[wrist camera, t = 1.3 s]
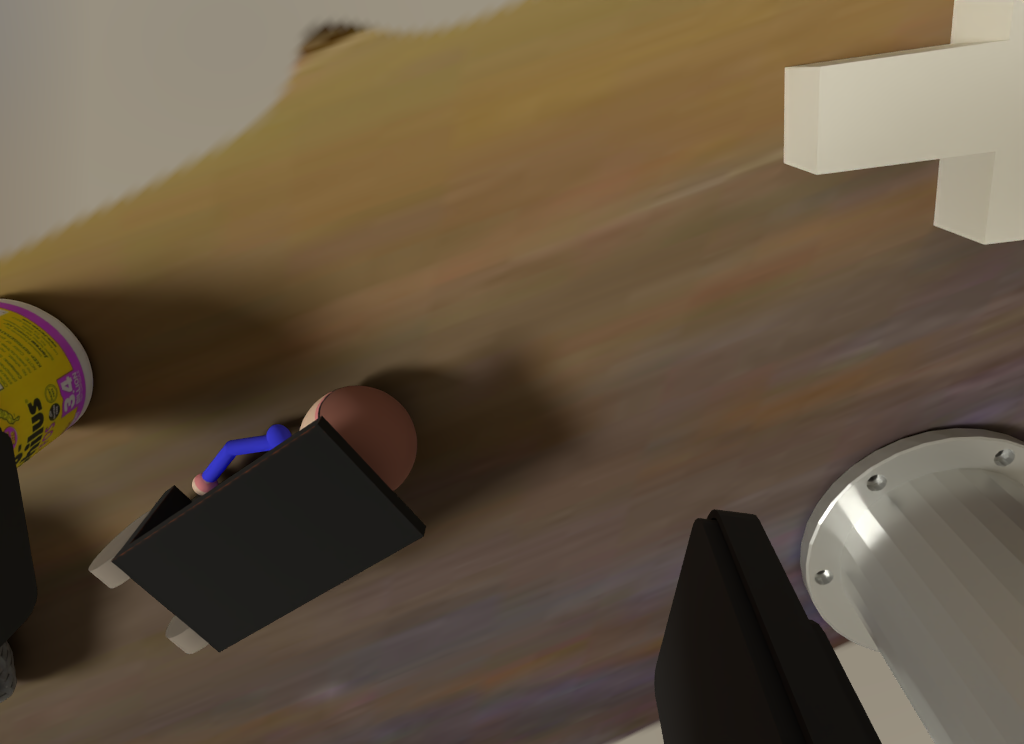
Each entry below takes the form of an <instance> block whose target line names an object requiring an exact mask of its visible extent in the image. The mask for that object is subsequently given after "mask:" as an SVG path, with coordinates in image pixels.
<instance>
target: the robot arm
mask: <svg viewBox="0 0 1024 744" xmlns="http://www.w3.org/2000/svg"><path fill="white" fill-rule="evenodd" d="M800 566H801V571H802V577H803V582H804V584H805V587H806V589H807V591H808V593H809V595H810V597H811V599H812V601H813V603H814V605H815V606H816V608H817V610H818V611H819V613H820V614H821V616H822V618H823V619H824V620H825V621H826V622H827V623H828V624H829V625H830V626H831V627H832V628H833V629H834V630H835V631H836V632H838V633H839V634H841V635H842V636H844V637H846V638H847V639H849V640H850V641H852V642H854V643H856V644H858V645H861V646H863V647H866V648H869V649H871V650H874V651H879V652H880V653H881V655H882V656H883V658H884V659H885V661H886V663H887V664H888V666H889V668H890V669H891V671H892V672H893V675H894V676H895V678H896V680H897V681H898V683H899V684H900V686H901V688H902V690H903V691H904V693H905V694H906V696H907V698H908V699H909V701H910V703H911V704H912V706H913V708H914V710H915V711H916V713H917V715H918V716H919V718H920V720H921V721H922V723H923V725H924V726H925V728H926V729H927V731H928V733H929V735H930V736H931V738H932V739H933V741H934V743H935V744H1024V442H1023V441H1021V440H1019V439H1016V438H1014V437H1012V436H1010V435H1007V434H1003V433H998V432H994V431H989V430H985V429H967V428H953V429H945V430H937V431H929V432H925V433H921V434H918V435H914V436H911V437H907V438H904V439H901V440H899V441H896V442H894V443H892V444H890V445H887V446H885V447H883V448H881V449H879V450H876V451H875V452H873V453H872V454H870V455H869V456H867V457H865V458H864V459H862V460H861V461H859V462H858V463H856V464H855V465H853V466H852V467H851V468H850V469H849V470H847V471H846V472H845V473H844V474H843V475H842V476H841V477H840V478H839V479H837V480H836V481H835V482H834V483H833V484H832V485H831V487H830V488H829V489H828V491H827V492H826V493H825V494H824V496H823V497H822V498H821V499H820V501H819V502H818V503H817V505H816V507H815V509H814V511H813V513H812V515H811V517H810V519H809V520H808V522H807V525H806V529H805V532H804V536H803V539H802V543H801V556H800ZM36 599H37V586H36V580H35V574H34V568H33V562H32V556H31V550H30V544H29V538H28V532H27V526H26V520H25V514H24V508H23V502H22V497H21V491H20V485H19V479H18V473H17V467H16V461H15V455H14V449H13V443H12V440H11V438H10V436H9V435H8V434H7V433H5V432H2V429H1V427H0V647H1V646H2V645H3V644H4V643H5V642H6V641H7V640H8V639H9V638H10V637H11V636H12V635H13V633H14V632H15V631H16V630H17V629H18V628H19V627H20V626H21V625H22V624H23V623H24V622H25V621H26V620H27V618H28V617H29V616H30V614H31V612H32V611H33V609H34V606H35V603H36ZM654 685H655V697H656V702H657V707H658V713H659V718H660V723H661V729H662V734H663V739H664V744H882V743H881V741H880V739H879V737H878V736H877V733H876V732H875V730H874V728H873V726H872V724H871V722H870V720H869V718H868V716H867V714H866V712H865V710H864V708H863V706H862V704H861V702H860V700H859V698H858V696H857V694H856V693H855V691H854V689H853V687H852V685H851V683H850V681H849V679H848V677H847V675H846V673H845V671H844V669H843V667H842V665H841V663H840V661H839V659H838V658H837V655H836V654H835V652H834V650H833V648H832V646H831V644H830V642H829V640H828V638H827V636H826V634H825V632H824V631H823V630H822V628H821V627H820V625H819V624H818V623H816V622H814V621H813V620H809V619H808V617H807V615H806V613H805V611H804V609H803V607H802V605H801V603H800V601H799V599H798V597H797V595H796V593H795V591H794V589H793V587H792V585H791V583H790V581H789V579H788V577H787V575H786V573H785V571H784V569H783V567H782V565H781V563H780V561H779V559H778V557H777V555H776V553H775V551H774V549H773V547H772V545H771V543H770V541H769V539H768V537H767V535H766V533H765V531H764V529H763V527H762V525H761V523H760V521H759V519H758V518H757V516H756V515H753V514H747V513H739V512H731V511H723V510H715V509H714V510H712V511H711V512H710V514H709V515H708V518H707V519H701V518H698V519H696V520H695V522H694V524H693V527H692V531H691V535H690V538H689V542H688V546H687V550H686V554H685V557H684V561H683V565H682V569H681V573H680V577H679V580H678V584H677V588H676V592H675V596H674V599H673V603H672V607H671V611H670V615H669V619H668V622H667V626H666V630H665V634H664V638H663V642H662V645H661V649H660V653H659V657H658V661H657V664H656V669H655V682H654Z"/></svg>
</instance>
